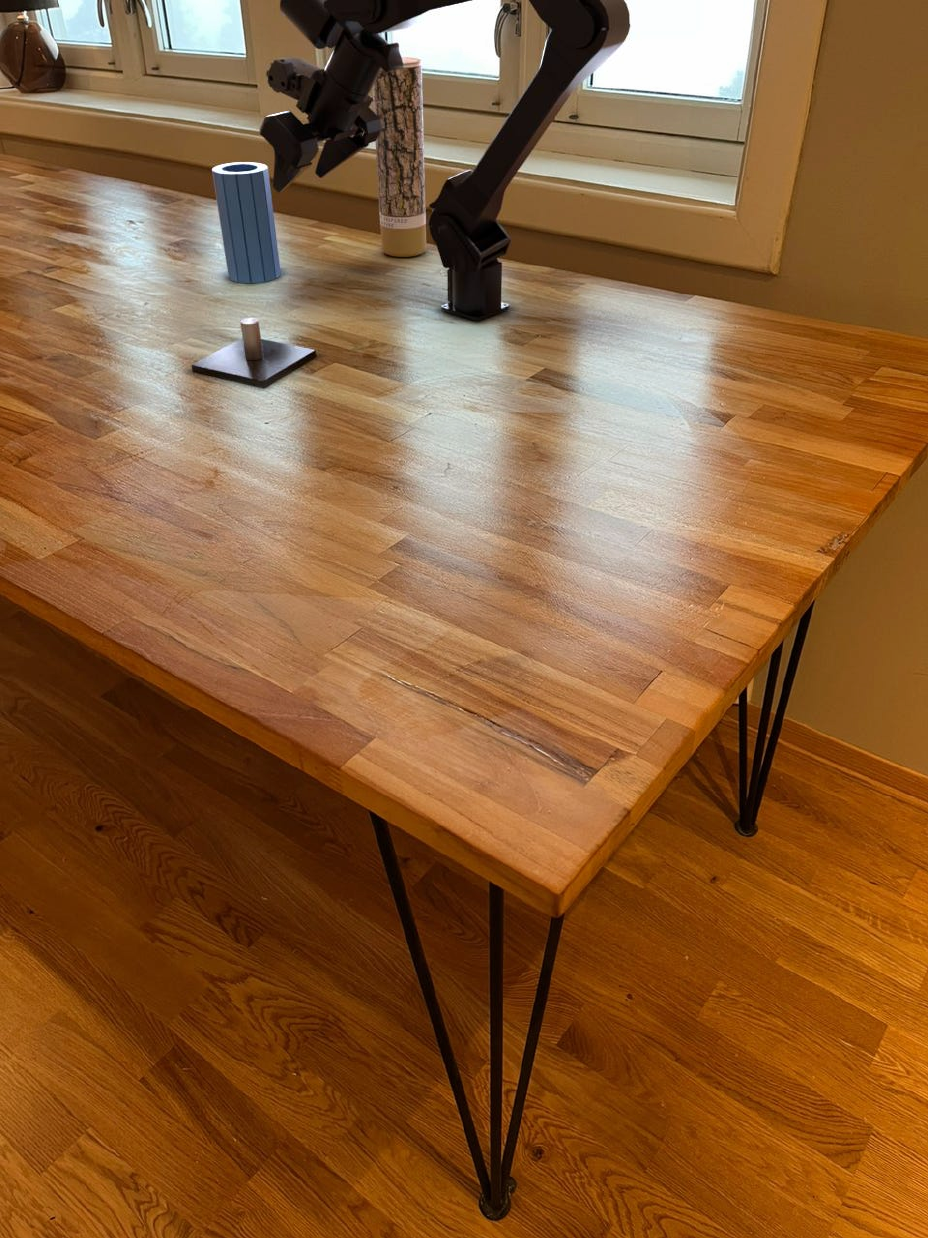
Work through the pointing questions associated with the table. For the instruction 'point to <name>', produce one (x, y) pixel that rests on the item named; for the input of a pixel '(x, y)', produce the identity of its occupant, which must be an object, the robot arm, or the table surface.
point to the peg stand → (254, 358)
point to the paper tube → (401, 159)
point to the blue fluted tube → (247, 221)
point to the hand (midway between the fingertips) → (297, 182)
